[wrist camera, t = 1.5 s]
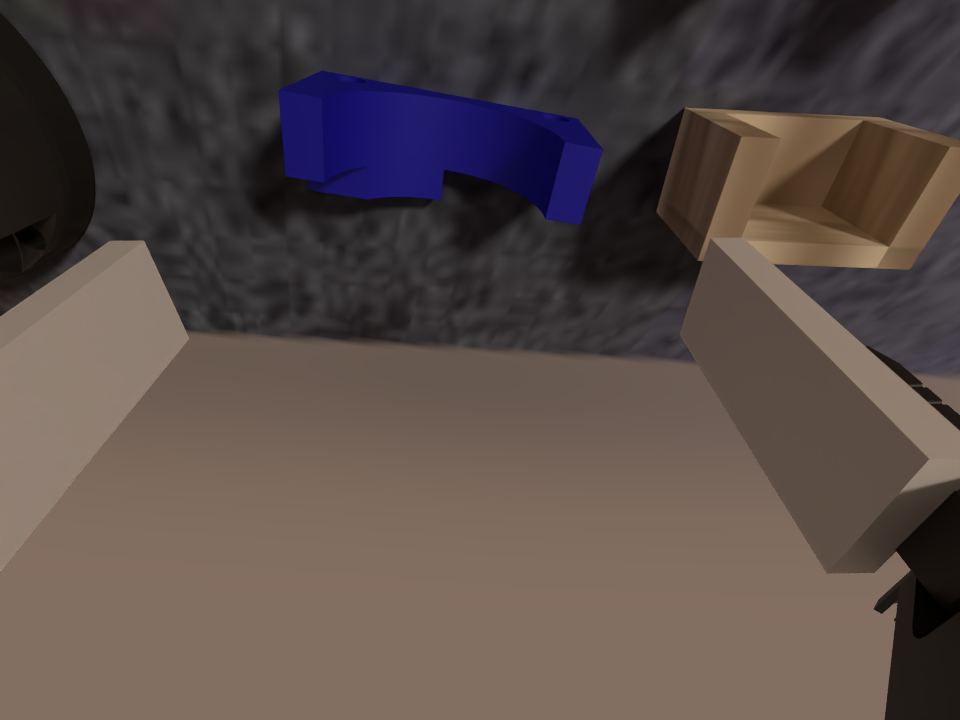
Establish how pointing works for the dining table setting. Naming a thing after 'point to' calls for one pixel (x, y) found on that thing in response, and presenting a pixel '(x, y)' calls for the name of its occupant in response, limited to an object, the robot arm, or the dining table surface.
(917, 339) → the dining table surface
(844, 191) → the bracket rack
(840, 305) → the dining table surface
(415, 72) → the dining table surface
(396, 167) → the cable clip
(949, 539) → the robot arm
